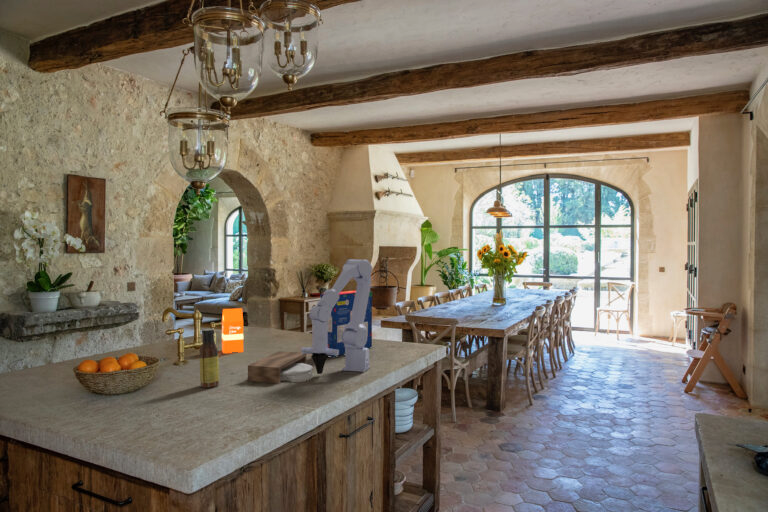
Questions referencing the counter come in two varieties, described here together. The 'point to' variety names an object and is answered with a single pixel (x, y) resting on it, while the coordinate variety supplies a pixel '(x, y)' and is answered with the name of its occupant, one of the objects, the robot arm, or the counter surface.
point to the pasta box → (346, 320)
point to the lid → (296, 372)
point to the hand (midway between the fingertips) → (319, 373)
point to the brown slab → (273, 366)
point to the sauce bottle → (209, 360)
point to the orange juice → (232, 330)
